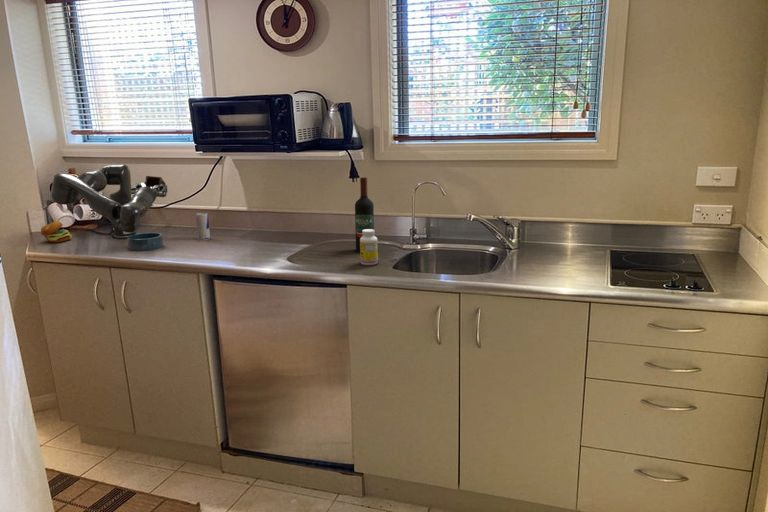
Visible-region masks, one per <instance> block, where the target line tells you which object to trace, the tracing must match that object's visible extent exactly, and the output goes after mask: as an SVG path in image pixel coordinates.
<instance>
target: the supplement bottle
mask: <svg viewBox="0 0 768 512" xmlns="http://www.w3.org/2000/svg"><path fill="white" fill-rule="evenodd" d="M375 233H376V231H375V229H374V230H373V229H365V230H362V234H363V237H361V238H360V252H359V257H360V258H359V261H360V262H359V263H360V264H361V265H363V266H376V265H377V264H378V262H379V253H378V251H379V250H378V249H379V248H378V246H379V245H378V244H379V243H378V237H377V236H375V235H376V234H375Z"/></svg>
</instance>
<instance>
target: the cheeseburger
mask: <svg viewBox="0 0 768 512" xmlns="http://www.w3.org/2000/svg"><path fill="white" fill-rule="evenodd" d="M63 225H64V224H63V223H62V222H60V221H58V220H55V221H52V222H51V223H48V224H45V225H43V226H42V227H41V228H40V235H42V236H43V237H44V238H45V240H47V242H49V243H51V244H57V243H62V242H65V241H68V240H69V241H70V240H71V239H72V234H71V233H70V231H69V230H68V229H64V228H62V227H63ZM61 228H62V229H61Z"/></svg>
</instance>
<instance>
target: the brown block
mask: <svg viewBox="0 0 768 512" xmlns="http://www.w3.org/2000/svg"><path fill="white" fill-rule="evenodd" d="M145 180H146V181H145ZM145 180H144V181H145V185H146V187H153V186H156V185H160V184H161V182H162V181H164V179H163V177H161V176H151V175H146V176H145ZM165 185H167V184H166V183H165ZM157 198H164V197H163V195H161V196H158V197H157Z"/></svg>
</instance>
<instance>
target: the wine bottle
mask: <svg viewBox="0 0 768 512" xmlns="http://www.w3.org/2000/svg"><path fill="white" fill-rule="evenodd" d="M359 183H360V185H359V187H360V197H359V198H358V199H357V200H356V201H355V203H354V225H355V226H354V227H355V230H354V231H355V252H357V253H360V238H361V237H363V234H362V230H365V229H373V230H375V214H374V213H375V212H374V211H375V210H374V209H375V208H374V206H375V205H374V202H373V201H372V200H371V199H370V198H369V196H368V177H366V176H364V177H360V178H359Z"/></svg>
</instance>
